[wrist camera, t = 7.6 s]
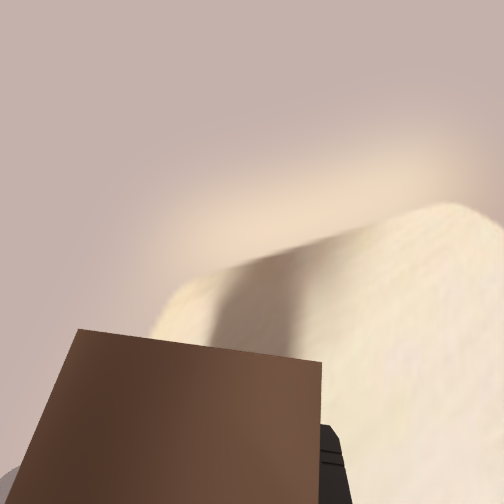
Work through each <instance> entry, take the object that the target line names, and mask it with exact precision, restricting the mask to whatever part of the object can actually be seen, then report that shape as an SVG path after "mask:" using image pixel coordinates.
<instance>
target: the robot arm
mask: <svg viewBox="0 0 504 504" xmlns="http://www.w3.org/2000/svg"><path fill="white" fill-rule="evenodd" d="M20 466H21V465H20ZM20 466H18V467H16V468H14V469H13V470H11V471H10V472H8V473H7V474H6V475H4V476H3V477H2V478H1V479H0V504H5V501H6V499H7V496H8V494H9V492H10V489H11V487H12V485H13V482H14V480H15V478H16V475H17V473H18V470H19V468H20ZM318 504H352V499H351V494H350V490H349V485H348V480H347V475H346V470H345V468H344V461H343V456H342V451H341V446H340V441H339V438H338V436H337V435H336V434H335V432H334V431H333V429H332V428H331V426H330V425H323V424H320V456H319V494H318Z"/></svg>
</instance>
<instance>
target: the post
mask: <svg viewBox="0 0 504 504" xmlns="http://www.w3.org/2000/svg"><path fill="white" fill-rule="evenodd" d="M321 380H322V362H316V361H309V360H301V359H294V358H287V357H280V356H272V355H265V354H258V353H251V352H243V351H236V350H229V349H221V348H214V347H207V346H200V345H192V344H185V343H178V342H171V341H163V340H156V339H149V338H141V337H134V336H126V335H119V334H112V333H105V332H98V331H90V330H83V329H78V331H77V333H76V336H75V338H74V340H73V343H72V345H71V347H70V350H69V352H68V354H67V357H66V359H65V362H64V364H63V366H62V369H61V371H60V373H59V376H58V378H57V381H56V383H55V385H54V388H53V390H52V392H51V395H50V397H49V399H48V402H47V404H46V407H45V409H44V412H43V414H42V416H41V418H40V421H39V423H38V426H37V428H36V430H35V433H34V435H33V437H32V440H31V442H30V444H29V447H28V449H27V452H26V454H25V456H24V459H23V461H22V463H21V466H20V468H19V470H18V473H17V475H16V478H15V480H14V482H13V485H12V487H11V489H10V492H9V494H8V496H7V499H6V501H5V504H318V494H319V456H320V418H321Z"/></svg>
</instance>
